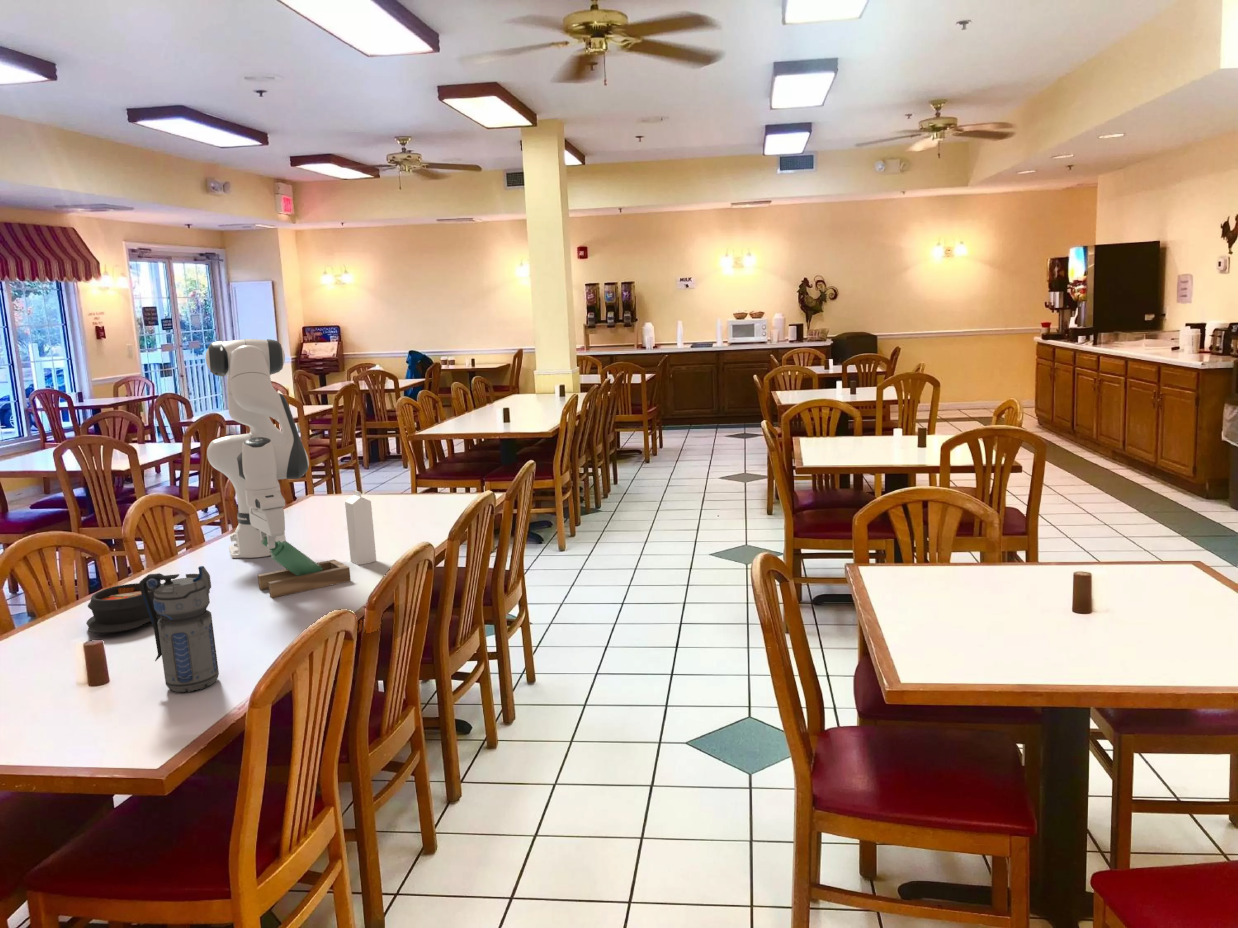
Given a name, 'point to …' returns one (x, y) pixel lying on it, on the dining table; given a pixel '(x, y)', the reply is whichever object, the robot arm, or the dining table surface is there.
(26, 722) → the dining table surface
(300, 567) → the bottle
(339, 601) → the dining table surface
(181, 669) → the blue striped grenade
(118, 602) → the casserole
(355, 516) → the milk
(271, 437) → the robot arm
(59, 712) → the dining table surface
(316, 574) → the u rest
